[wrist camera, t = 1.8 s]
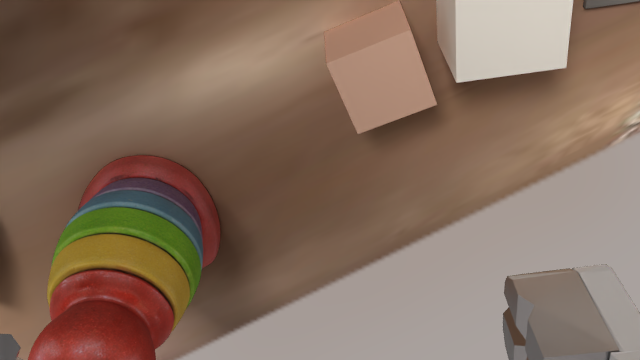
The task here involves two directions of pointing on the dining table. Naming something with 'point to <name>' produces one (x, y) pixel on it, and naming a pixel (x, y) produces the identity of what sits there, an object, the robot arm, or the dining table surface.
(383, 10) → the terracotta block
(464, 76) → the cream block
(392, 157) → the dining table surface
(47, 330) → the stacking bear
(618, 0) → the tile
